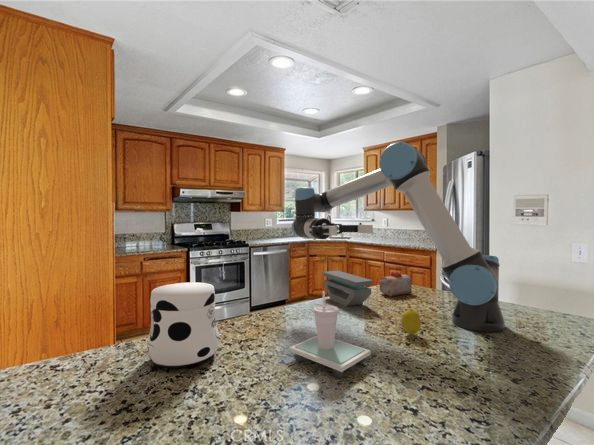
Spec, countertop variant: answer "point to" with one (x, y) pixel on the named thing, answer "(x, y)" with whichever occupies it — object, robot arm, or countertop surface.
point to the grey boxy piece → (396, 284)
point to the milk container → (182, 324)
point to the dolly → (331, 354)
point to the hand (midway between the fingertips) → (354, 230)
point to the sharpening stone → (347, 288)
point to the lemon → (411, 321)
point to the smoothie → (325, 324)
